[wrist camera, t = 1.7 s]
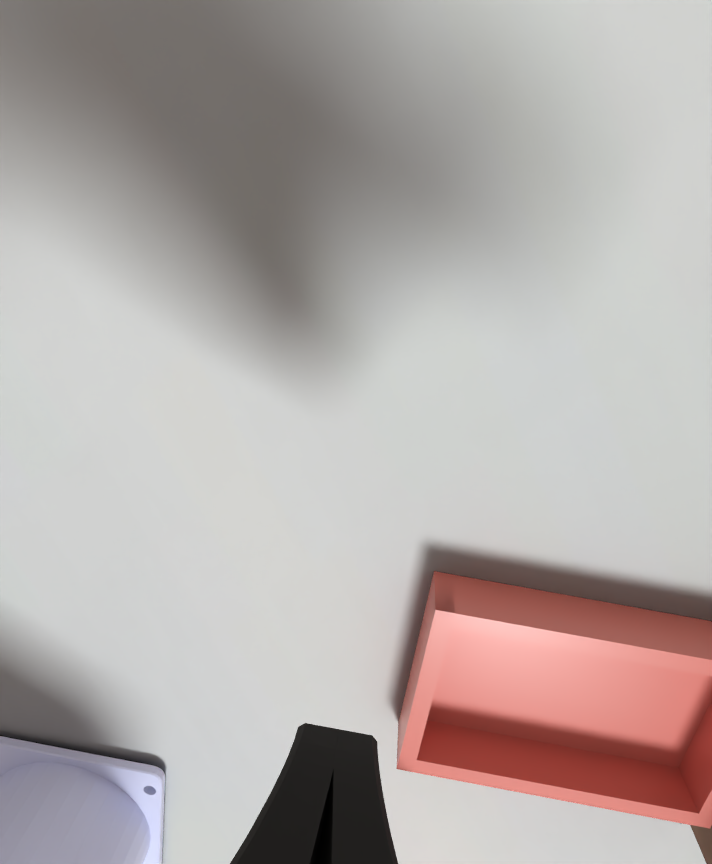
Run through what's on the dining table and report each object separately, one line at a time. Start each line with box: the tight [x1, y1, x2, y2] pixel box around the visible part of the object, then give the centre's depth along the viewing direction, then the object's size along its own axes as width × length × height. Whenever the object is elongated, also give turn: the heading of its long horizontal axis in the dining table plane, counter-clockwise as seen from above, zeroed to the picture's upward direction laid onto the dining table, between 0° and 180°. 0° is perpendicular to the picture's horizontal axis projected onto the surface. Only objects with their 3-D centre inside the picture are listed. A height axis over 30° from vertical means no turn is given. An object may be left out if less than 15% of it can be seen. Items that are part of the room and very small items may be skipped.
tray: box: [397, 571, 712, 829], centre depth 21 cm, size 7×11×2 cm, turn 82°
